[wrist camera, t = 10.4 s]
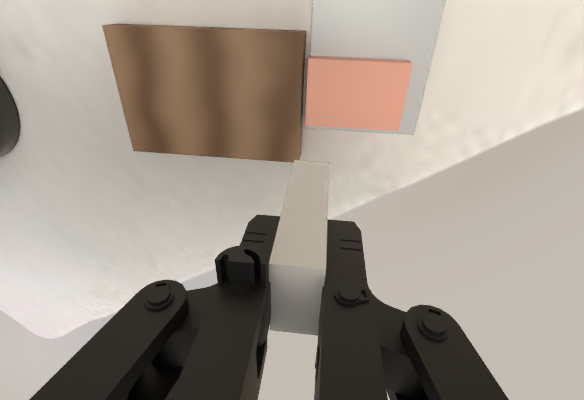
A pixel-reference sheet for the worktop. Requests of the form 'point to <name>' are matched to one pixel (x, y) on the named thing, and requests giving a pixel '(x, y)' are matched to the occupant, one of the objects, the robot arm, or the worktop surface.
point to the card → (356, 92)
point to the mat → (380, 41)
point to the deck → (210, 89)
